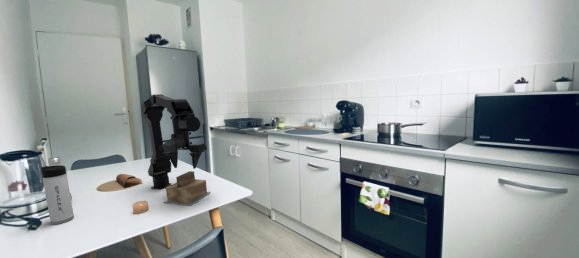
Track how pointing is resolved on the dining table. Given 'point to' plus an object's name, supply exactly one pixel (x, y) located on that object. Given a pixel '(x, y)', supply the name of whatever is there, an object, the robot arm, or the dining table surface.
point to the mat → (188, 203)
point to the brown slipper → (128, 180)
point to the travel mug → (57, 194)
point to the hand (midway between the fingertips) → (185, 168)
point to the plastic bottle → (55, 162)
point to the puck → (140, 207)
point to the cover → (186, 189)
